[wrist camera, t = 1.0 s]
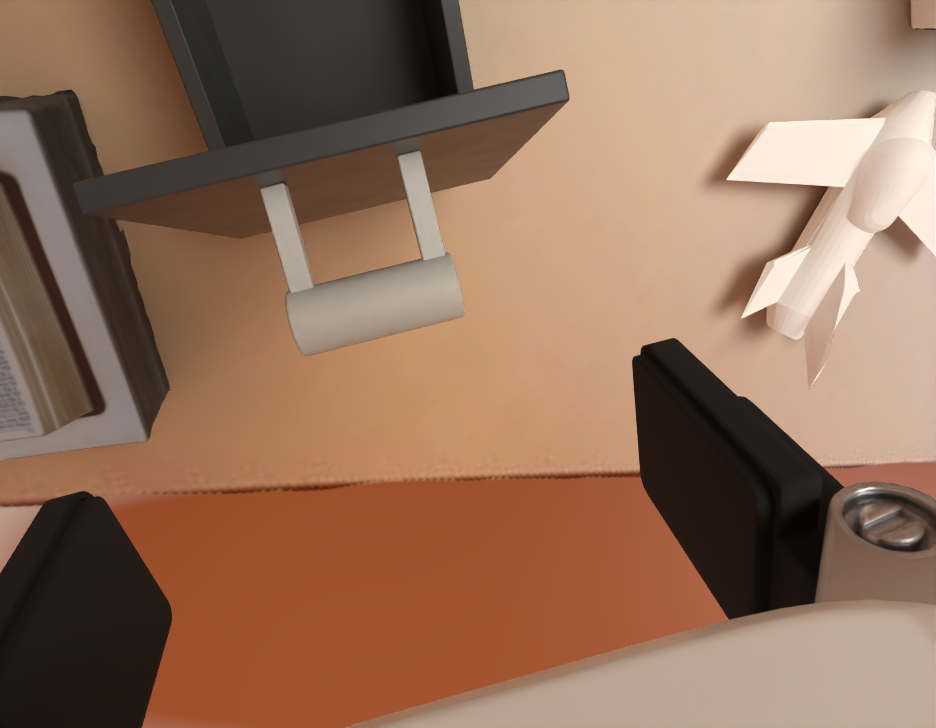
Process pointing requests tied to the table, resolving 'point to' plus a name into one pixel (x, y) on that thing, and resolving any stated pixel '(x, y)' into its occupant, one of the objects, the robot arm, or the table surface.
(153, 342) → the bible
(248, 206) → the door
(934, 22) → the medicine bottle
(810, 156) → the airplane model
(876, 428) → the table surface
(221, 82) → the dark grey box
